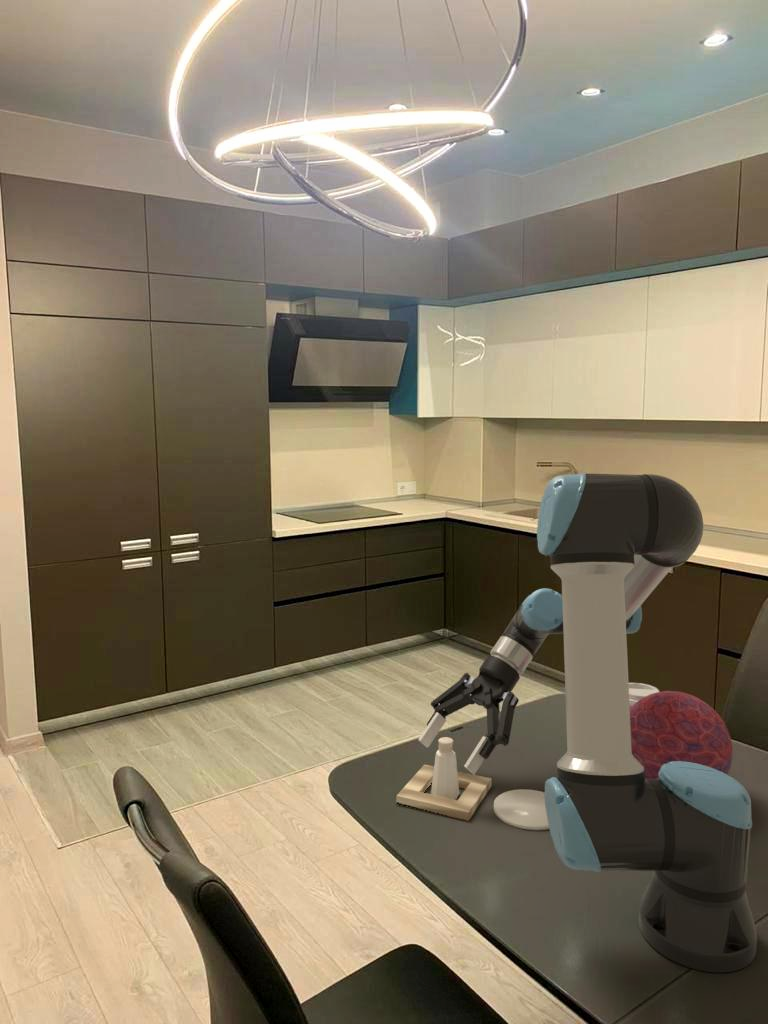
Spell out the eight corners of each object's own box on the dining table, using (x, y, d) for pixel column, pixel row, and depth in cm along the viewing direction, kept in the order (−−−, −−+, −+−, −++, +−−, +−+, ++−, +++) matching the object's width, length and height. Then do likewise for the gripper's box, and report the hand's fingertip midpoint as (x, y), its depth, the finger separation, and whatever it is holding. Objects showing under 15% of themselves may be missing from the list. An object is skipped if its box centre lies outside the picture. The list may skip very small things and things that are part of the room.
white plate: (558, 837, 130) (558, 832, 130) (484, 820, 135) (484, 815, 135) (572, 802, 142) (572, 798, 141) (504, 787, 147) (504, 783, 147)
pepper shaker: (424, 795, 144) (425, 739, 143) (442, 785, 148) (443, 731, 146) (447, 805, 140) (448, 748, 139) (465, 794, 144) (466, 739, 143)
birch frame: (468, 820, 135) (468, 812, 135) (396, 803, 141) (396, 795, 140) (491, 786, 148) (491, 778, 147) (424, 771, 153) (424, 764, 153)
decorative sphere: (729, 783, 149) (736, 685, 147) (728, 834, 131) (735, 723, 129) (623, 763, 157) (628, 670, 155) (608, 808, 139) (613, 703, 137)
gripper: (561, 694, 142) (501, 792, 136) (472, 658, 162) (415, 743, 156) (542, 672, 138) (479, 772, 132) (453, 639, 159) (395, 724, 152)
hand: (445, 756), depth 144 cm, fingers open, 13 cm apart
